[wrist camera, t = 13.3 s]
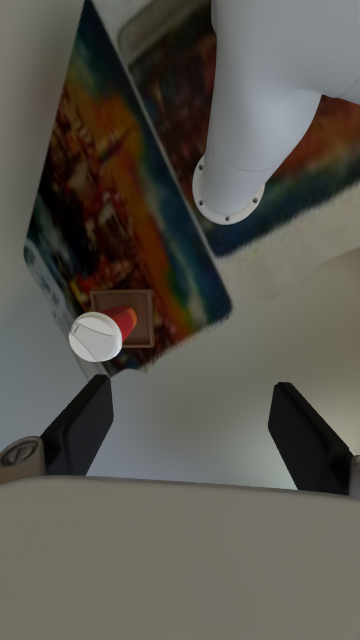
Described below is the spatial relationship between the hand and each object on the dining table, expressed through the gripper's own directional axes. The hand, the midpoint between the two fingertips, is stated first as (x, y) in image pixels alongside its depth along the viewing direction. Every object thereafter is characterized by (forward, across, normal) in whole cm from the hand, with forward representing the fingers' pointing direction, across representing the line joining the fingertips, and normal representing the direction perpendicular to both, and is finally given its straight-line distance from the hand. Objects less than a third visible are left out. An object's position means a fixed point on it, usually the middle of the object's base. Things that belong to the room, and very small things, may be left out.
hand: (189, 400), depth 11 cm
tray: (+30, +14, +3) cm, 33 cm away
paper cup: (+29, +14, +3) cm, 33 cm away
